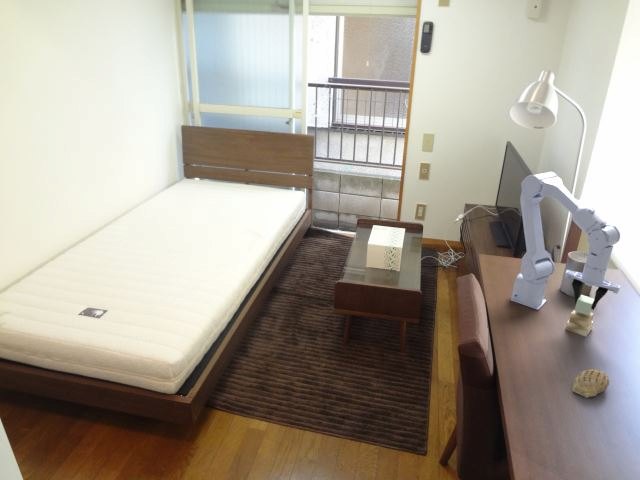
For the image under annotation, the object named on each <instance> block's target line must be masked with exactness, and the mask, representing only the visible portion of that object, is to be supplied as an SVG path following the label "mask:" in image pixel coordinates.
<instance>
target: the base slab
mask: <svg viewBox="0 0 640 480" xmlns="http://www.w3.org/2000/svg"><path fill="white" fill-rule="evenodd" d="M594 323H595V322H594V321H593V320H592V322H591V323H590V324H589V325H588V326H587V328H584V327H582V326H579V325H577V324H574V323H572V322H569V319H568V320H567V322H566V326H565V331H566V330H567V331H569V332H572V333H574V334H577V335H580V336H583V337H585V338H587V337H588V336H589V333H590V332H591V330H592V328H593V325H594Z"/></svg>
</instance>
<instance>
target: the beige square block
mask: <svg viewBox="0 0 640 480" xmlns="http://www.w3.org/2000/svg"><path fill="white" fill-rule="evenodd" d="M594 315H595V313H593V311H592V312H591V313H590V315H589V316H588V315H585V314H582V313H579V312H576V311H575V309H573V311H572V312H571V313H570V315H569V318H568V320H569V322H572V323H574V324H577V325H579V326H582V327H584V328H587V326H588V325H589V324H590V323H591V322H592V321H593V318H594Z"/></svg>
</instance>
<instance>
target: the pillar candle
mask: <svg viewBox="0 0 640 480" xmlns="http://www.w3.org/2000/svg"><path fill="white" fill-rule="evenodd" d="M587 255H588V251H579V250H575V251H574V250H573V251H570V252H568V253H567V257H566V258H567V260H566V263H565V267H564V271H563V274H562V278H561V284H560V287H559V289H560V291H561V292H563V293H564V294H565V295H567V296H569V297H571V298H575V294H574V290H573V287H572V282H573V280H574V279H570V278H564V276H565V272H566V271H567V270H570V271H574V272H580V273H583V269H584V266H585V262H586V258H587ZM592 287H593V286H588V285H585V283H584V285H583V288H582V292H581V295H584V296H587V297H590V295H591V291H592Z"/></svg>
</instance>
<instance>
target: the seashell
mask: <svg viewBox="0 0 640 480" xmlns="http://www.w3.org/2000/svg"><path fill="white" fill-rule="evenodd" d="M609 379H610V378H609V376H608V375H607V374H606V373H605V372H603V371H601V369H596V368H588V369H584V370H582V371H581V372H579V373H578V374H577V376H576V377H575V378H574V380H573V383H572V386H571V390H572V392H573V393H575V394H579V395H580V396H582V397H584V398H590V397H596V396H597V395H598V394H600V393H602V392H604V391H606V389H608V387H609V384H610V380H609Z"/></svg>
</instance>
